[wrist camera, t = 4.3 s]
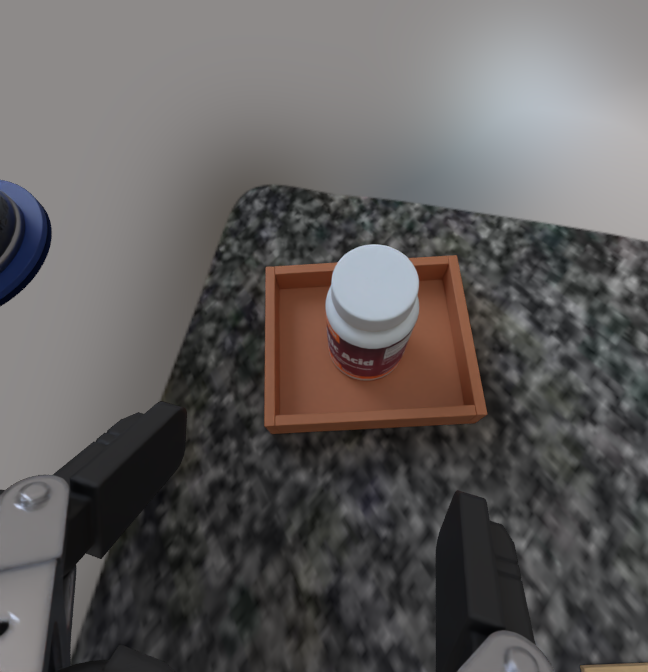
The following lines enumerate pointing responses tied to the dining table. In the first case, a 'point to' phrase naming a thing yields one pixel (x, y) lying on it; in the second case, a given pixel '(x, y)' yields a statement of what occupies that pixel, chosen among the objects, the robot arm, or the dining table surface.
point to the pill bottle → (371, 311)
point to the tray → (375, 395)
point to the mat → (616, 667)
